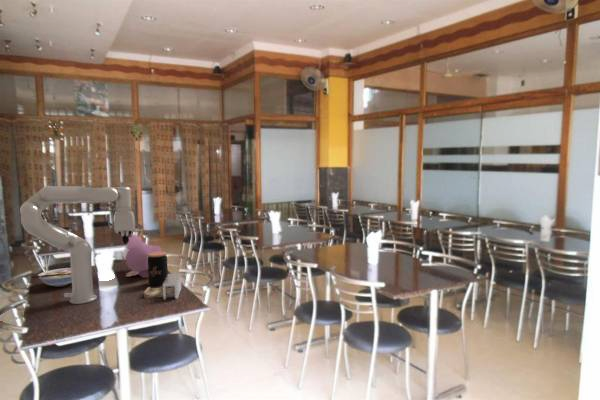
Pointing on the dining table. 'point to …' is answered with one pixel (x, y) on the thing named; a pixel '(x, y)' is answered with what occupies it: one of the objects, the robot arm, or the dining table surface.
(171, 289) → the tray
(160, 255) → the coffee jar
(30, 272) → the dining table surface
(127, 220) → the robot arm
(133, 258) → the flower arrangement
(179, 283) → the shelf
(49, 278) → the ramen bowl
